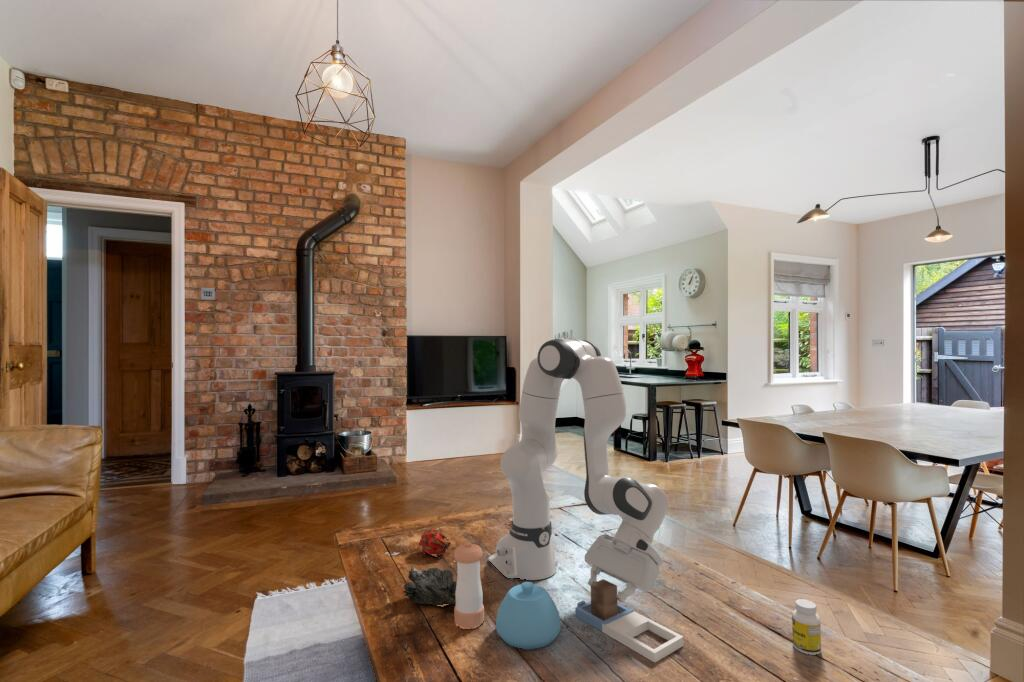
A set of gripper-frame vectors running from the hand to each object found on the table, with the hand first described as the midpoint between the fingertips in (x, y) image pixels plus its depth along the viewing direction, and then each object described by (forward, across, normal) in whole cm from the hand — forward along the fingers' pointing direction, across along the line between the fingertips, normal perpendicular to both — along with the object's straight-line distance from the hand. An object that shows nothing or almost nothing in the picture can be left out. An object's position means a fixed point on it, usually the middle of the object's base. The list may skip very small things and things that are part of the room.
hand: (604, 593), depth 127 cm
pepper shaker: (+24, -19, -15) cm, 34 cm away
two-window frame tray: (+4, +7, +4) cm, 9 cm away
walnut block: (+4, 0, +4) cm, 6 cm away
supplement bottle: (-13, +36, +22) cm, 44 cm away
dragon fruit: (+14, -61, -6) cm, 63 cm away
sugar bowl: (+18, -6, -9) cm, 21 cm away
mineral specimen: (+25, -34, -16) cm, 45 cm away
